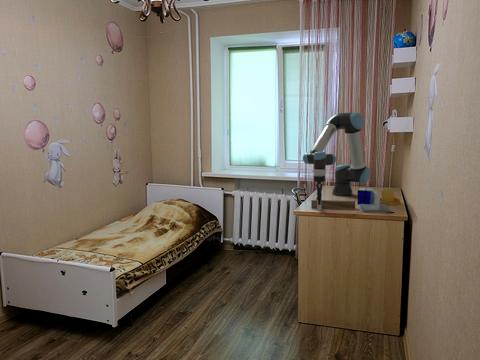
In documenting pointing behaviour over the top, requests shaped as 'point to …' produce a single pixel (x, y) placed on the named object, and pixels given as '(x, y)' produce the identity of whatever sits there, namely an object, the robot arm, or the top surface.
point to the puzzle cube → (364, 196)
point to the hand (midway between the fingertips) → (318, 207)
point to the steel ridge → (375, 199)
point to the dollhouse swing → (389, 198)
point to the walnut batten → (334, 204)
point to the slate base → (370, 209)
